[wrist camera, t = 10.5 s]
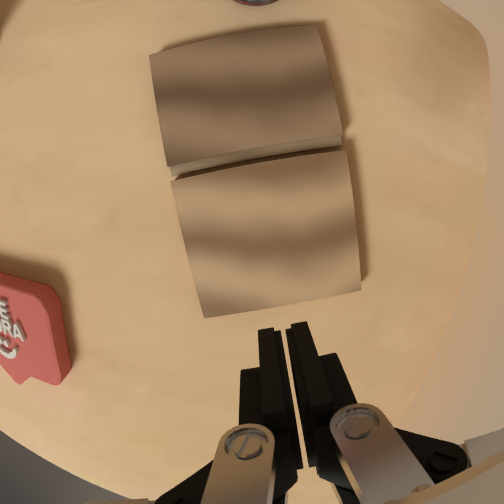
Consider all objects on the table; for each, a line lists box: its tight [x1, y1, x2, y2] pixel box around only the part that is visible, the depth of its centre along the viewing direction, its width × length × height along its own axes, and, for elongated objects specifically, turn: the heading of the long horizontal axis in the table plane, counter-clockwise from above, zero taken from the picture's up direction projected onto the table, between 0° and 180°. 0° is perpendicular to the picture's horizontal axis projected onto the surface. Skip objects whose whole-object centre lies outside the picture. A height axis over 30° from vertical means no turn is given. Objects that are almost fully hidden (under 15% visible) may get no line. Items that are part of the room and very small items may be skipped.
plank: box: [171, 150, 361, 318], centre depth 25 cm, size 12×14×1 cm
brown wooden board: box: [149, 25, 343, 176], centre depth 22 cm, size 11×14×1 cm
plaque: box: [0, 272, 72, 385], centre depth 27 cm, size 18×4×15 cm
